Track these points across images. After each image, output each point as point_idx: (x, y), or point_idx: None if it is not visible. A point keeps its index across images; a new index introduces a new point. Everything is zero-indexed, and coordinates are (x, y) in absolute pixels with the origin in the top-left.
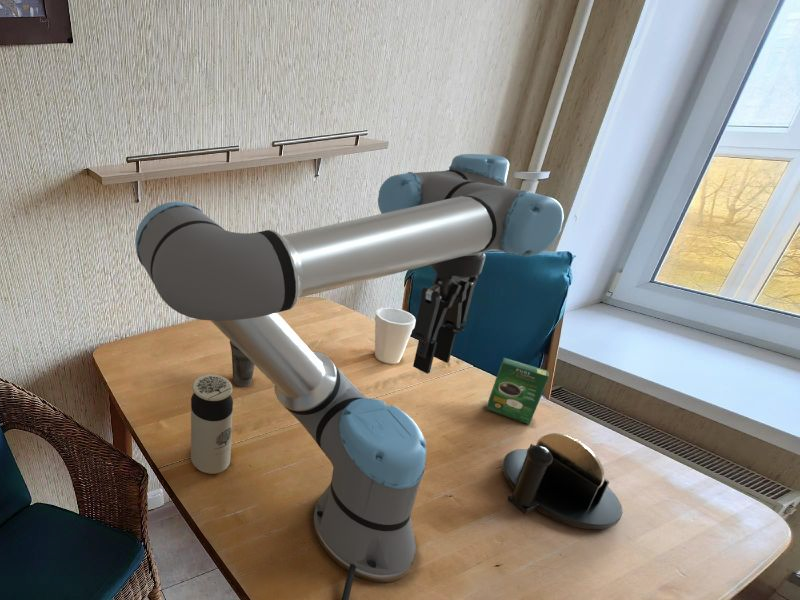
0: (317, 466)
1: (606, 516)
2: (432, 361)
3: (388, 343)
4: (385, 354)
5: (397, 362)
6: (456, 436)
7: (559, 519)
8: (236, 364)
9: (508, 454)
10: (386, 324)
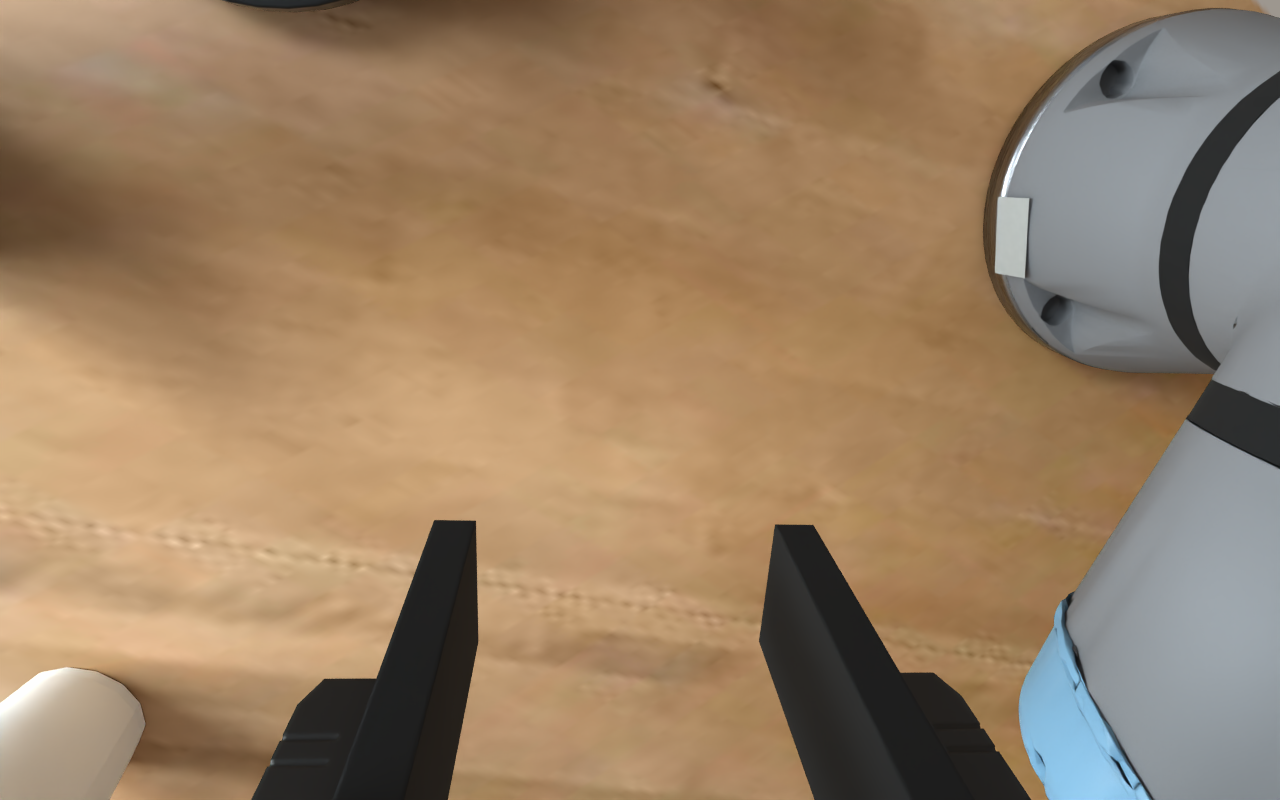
0: (976, 465)
1: None
2: (813, 600)
3: (69, 796)
4: (113, 737)
5: (72, 670)
6: (328, 240)
7: None
8: None
9: (271, 1)
10: None
